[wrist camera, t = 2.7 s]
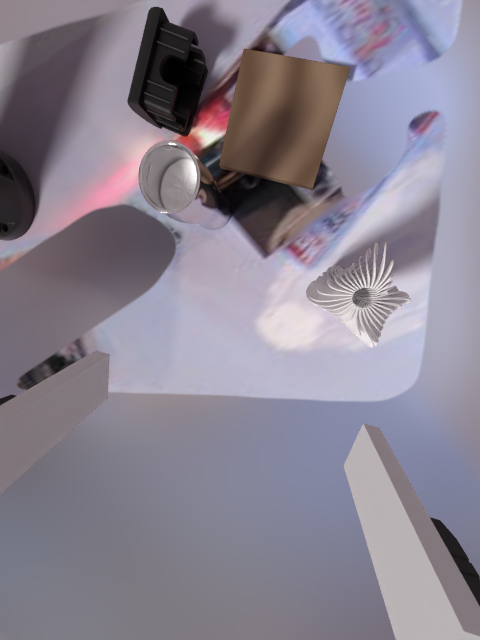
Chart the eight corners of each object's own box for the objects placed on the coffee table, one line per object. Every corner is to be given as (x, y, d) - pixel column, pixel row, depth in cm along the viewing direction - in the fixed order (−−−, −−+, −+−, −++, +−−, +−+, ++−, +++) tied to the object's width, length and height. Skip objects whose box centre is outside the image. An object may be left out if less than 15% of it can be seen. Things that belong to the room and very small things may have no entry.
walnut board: (221, 168, 37) (219, 165, 36) (245, 56, 33) (243, 48, 32) (312, 189, 35) (312, 187, 34) (347, 74, 32) (350, 67, 30)
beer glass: (242, 200, 37) (214, 161, 23) (220, 241, 39) (182, 228, 25) (204, 177, 38) (153, 123, 23) (184, 219, 40) (126, 193, 25)
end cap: (166, 47, 35) (138, -3, 28) (210, 64, 34) (192, 18, 28) (146, 124, 37) (116, 95, 31) (186, 141, 37) (165, 115, 30)
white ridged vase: (334, 322, 39) (374, 368, 22) (298, 285, 39) (308, 303, 21) (378, 284, 36) (461, 303, 19) (339, 245, 36) (388, 229, 19)
